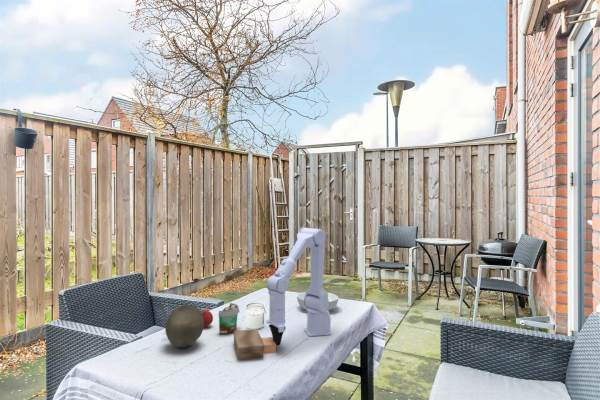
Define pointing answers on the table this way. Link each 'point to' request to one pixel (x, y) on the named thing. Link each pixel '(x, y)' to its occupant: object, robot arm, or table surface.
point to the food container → (228, 319)
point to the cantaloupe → (184, 325)
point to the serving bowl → (331, 297)
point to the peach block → (269, 345)
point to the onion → (207, 317)
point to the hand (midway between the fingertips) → (276, 344)
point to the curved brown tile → (248, 344)
